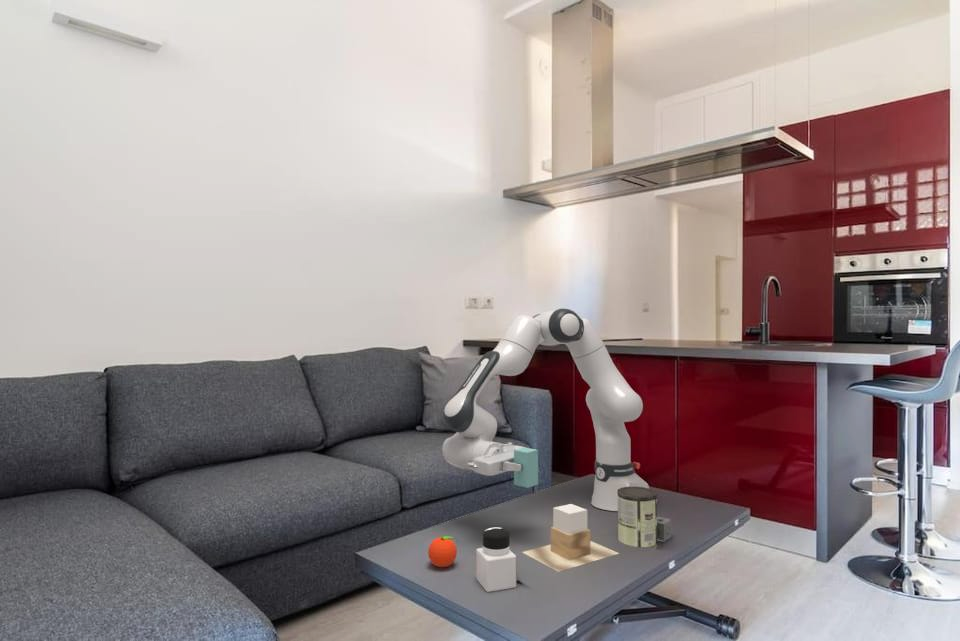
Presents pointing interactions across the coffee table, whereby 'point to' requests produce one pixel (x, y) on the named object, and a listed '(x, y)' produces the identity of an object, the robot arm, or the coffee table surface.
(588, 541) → the oak block
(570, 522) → the white block
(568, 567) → the birch board
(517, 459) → the teal block
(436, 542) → the clementine
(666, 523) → the dice cube
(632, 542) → the coffee can
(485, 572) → the medicine bottle
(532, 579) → the coffee table surface
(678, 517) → the coffee table surface
